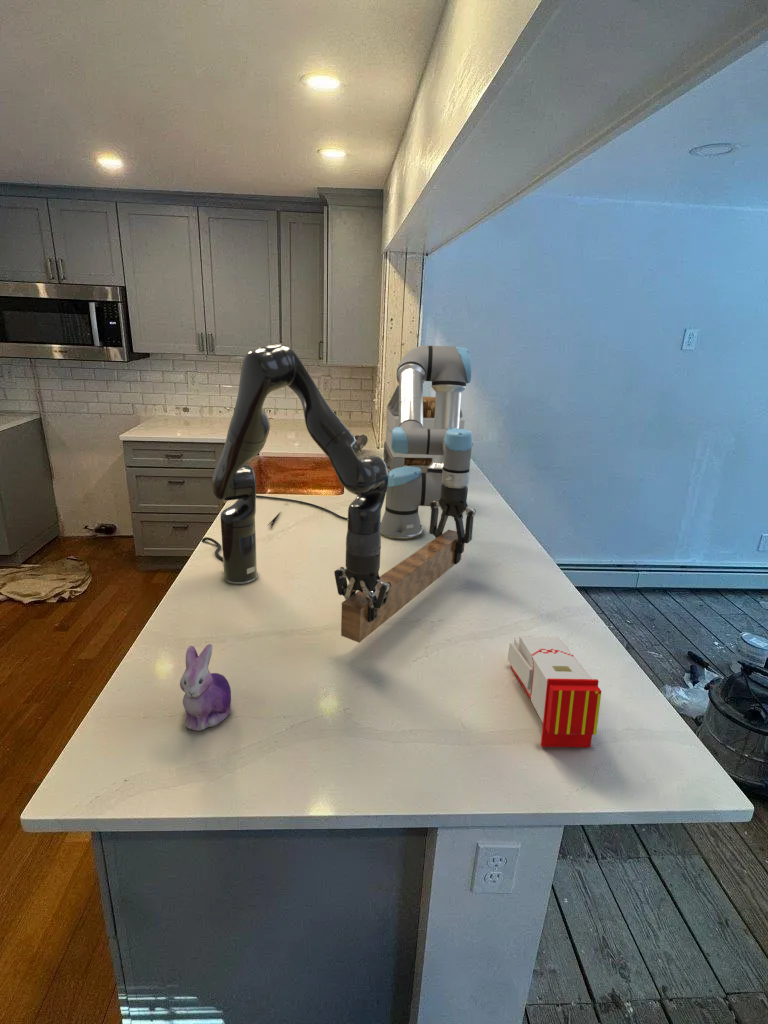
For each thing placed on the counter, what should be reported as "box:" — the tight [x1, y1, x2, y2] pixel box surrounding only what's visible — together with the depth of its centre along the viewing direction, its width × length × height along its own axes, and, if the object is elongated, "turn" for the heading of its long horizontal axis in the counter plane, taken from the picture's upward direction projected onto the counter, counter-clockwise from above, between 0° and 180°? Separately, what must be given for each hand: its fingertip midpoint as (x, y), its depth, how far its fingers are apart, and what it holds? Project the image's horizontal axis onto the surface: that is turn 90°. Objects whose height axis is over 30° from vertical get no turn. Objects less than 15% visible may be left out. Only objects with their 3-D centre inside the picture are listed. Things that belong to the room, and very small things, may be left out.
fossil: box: [353, 434, 369, 455], centre depth 304 cm, size 22×10×15 cm
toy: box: [507, 635, 602, 748], centre depth 115 cm, size 12×13×30 cm
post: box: [340, 529, 463, 644], centre depth 147 cm, size 55×5×8 cm, turn 149°
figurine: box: [179, 643, 232, 732], centre depth 106 cm, size 9×10×15 cm
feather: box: [266, 512, 281, 529], centre depth 211 cm, size 2×28×2 cm
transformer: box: [383, 384, 465, 472], centre depth 268 cm, size 34×33×41 cm
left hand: (361, 616), depth 128 cm, fingers closed on post, 5 cm apart
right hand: (448, 559), depth 167 cm, fingers closed on post, 5 cm apart
